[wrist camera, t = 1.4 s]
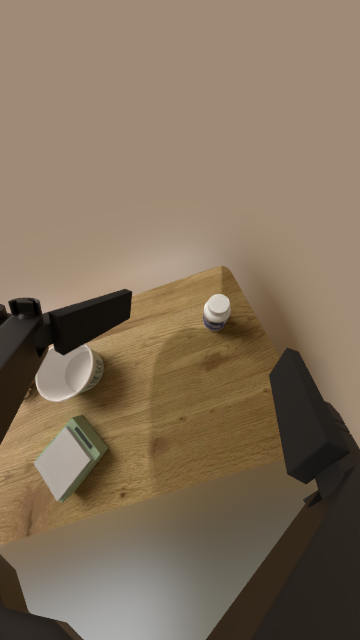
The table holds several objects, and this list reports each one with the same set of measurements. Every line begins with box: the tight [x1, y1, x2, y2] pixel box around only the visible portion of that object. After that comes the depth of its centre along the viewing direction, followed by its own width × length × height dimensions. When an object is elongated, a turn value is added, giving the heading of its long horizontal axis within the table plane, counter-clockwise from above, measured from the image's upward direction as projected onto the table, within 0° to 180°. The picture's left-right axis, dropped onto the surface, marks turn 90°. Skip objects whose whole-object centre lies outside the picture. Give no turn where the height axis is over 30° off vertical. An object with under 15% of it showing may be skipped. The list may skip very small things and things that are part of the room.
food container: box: [36, 343, 104, 402], centre depth 35 cm, size 12×12×6 cm
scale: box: [34, 415, 108, 503], centre depth 31 cm, size 9×9×4 cm
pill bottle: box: [203, 294, 231, 332], centre depth 35 cm, size 5×5×10 cm
